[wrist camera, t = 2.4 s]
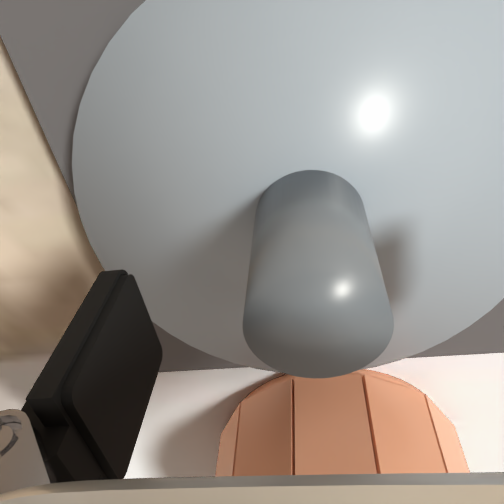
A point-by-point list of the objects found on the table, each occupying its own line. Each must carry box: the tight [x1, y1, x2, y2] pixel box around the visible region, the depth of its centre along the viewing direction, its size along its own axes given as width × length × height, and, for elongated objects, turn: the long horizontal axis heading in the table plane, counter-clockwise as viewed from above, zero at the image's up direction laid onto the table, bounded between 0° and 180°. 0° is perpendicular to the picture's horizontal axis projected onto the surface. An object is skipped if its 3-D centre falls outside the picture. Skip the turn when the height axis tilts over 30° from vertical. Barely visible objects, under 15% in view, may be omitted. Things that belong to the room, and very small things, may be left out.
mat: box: [0, 0, 504, 372], centre depth 14 cm, size 15×15×1 cm
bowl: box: [215, 369, 470, 477], centre depth 20 cm, size 11×11×6 cm
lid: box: [72, 0, 504, 378], centre depth 12 cm, size 14×14×6 cm
